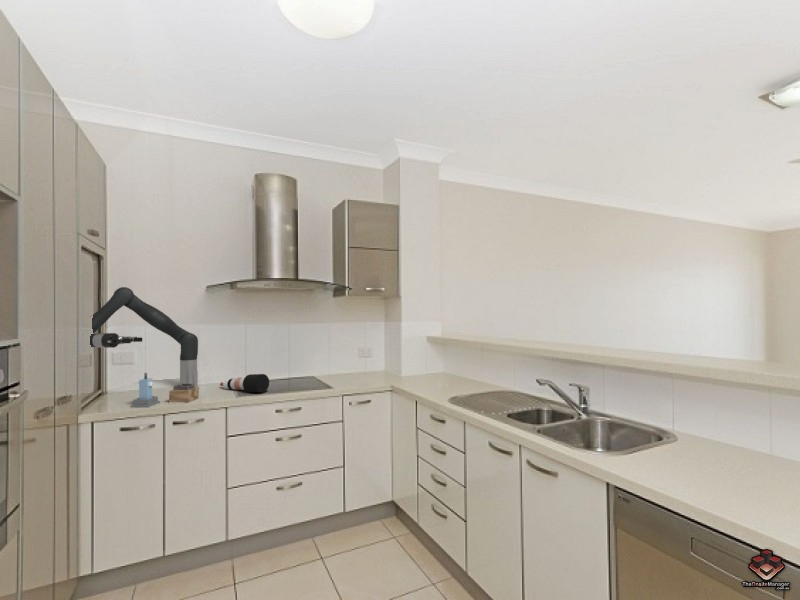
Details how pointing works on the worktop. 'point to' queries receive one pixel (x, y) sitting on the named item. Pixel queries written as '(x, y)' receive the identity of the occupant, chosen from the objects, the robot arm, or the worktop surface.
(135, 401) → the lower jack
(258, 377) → the black and white bottle
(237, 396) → the worktop surface
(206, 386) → the worktop surface
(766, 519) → the worktop surface
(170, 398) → the upper stand
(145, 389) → the plug
